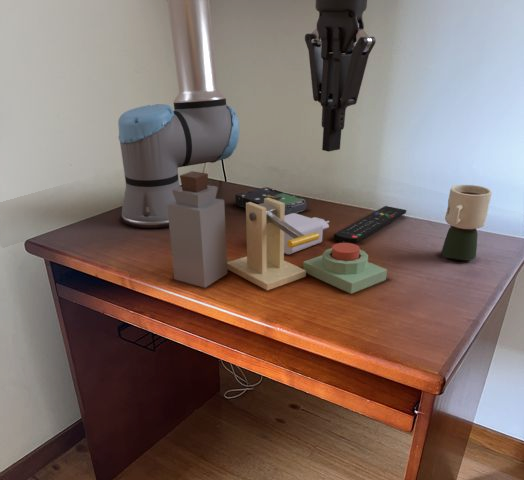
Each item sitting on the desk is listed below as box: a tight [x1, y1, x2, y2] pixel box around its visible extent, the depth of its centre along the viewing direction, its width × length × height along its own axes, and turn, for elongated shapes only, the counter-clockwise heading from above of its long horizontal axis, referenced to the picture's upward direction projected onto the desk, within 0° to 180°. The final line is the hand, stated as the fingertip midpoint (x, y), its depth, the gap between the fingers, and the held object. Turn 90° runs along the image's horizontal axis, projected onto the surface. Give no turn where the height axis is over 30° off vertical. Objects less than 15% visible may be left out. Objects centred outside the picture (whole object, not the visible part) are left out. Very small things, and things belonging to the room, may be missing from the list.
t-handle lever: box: [258, 203, 319, 248], centre depth 91 cm, size 12×6×2 cm, turn 39°
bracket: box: [227, 198, 307, 291], centre depth 96 cm, size 12×9×13 cm
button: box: [331, 242, 361, 261], centre depth 96 cm, size 5×5×2 cm
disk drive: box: [234, 186, 308, 215], centre depth 131 cm, size 10×3×15 cm
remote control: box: [333, 205, 407, 244], centre depth 119 cm, size 5×24×1 cm, turn 143°
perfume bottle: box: [167, 170, 228, 289], centre depth 93 cm, size 7×7×18 cm
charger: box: [284, 213, 330, 255], centre depth 112 cm, size 5×9×15 cm
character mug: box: [441, 184, 493, 261], centre depth 102 cm, size 11×7×13 cm, turn 140°
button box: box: [302, 247, 388, 295], centre depth 97 cm, size 12×9×4 cm
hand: (331, 149), depth 92 cm, fingers closed
